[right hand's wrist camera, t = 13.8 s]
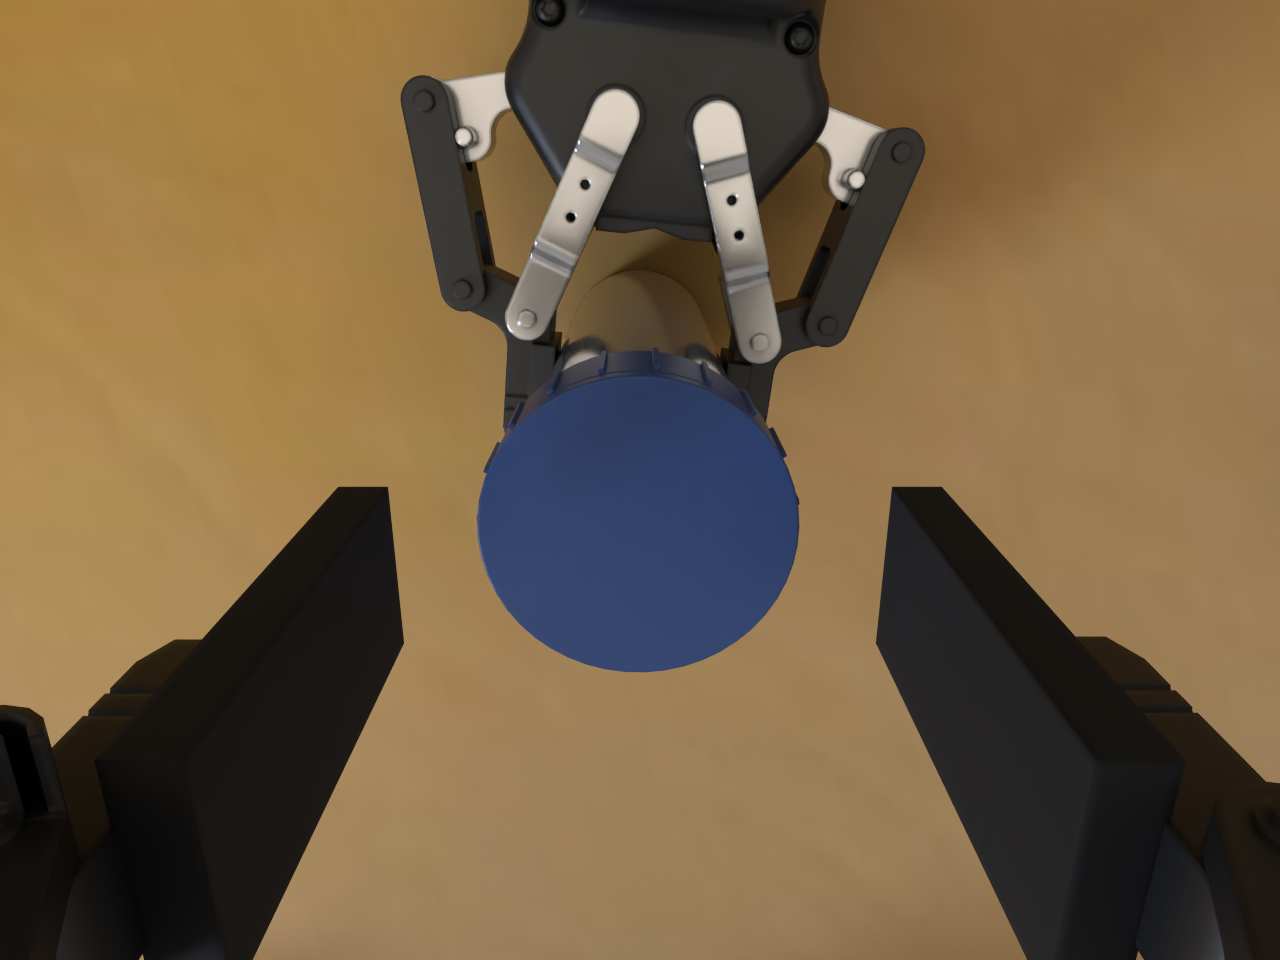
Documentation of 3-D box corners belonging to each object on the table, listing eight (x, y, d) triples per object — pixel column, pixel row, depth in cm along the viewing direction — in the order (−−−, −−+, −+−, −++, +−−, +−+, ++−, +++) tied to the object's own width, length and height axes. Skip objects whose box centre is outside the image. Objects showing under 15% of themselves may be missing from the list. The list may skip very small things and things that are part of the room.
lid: (548, 652, 19) (537, 710, 17) (446, 398, 17) (421, 429, 15) (814, 578, 18) (835, 629, 16) (740, 306, 17) (754, 327, 15)
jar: (596, 419, 34) (554, 671, 17) (553, 294, 32) (462, 438, 16) (721, 381, 33) (802, 603, 17) (684, 251, 32) (733, 356, 15)
